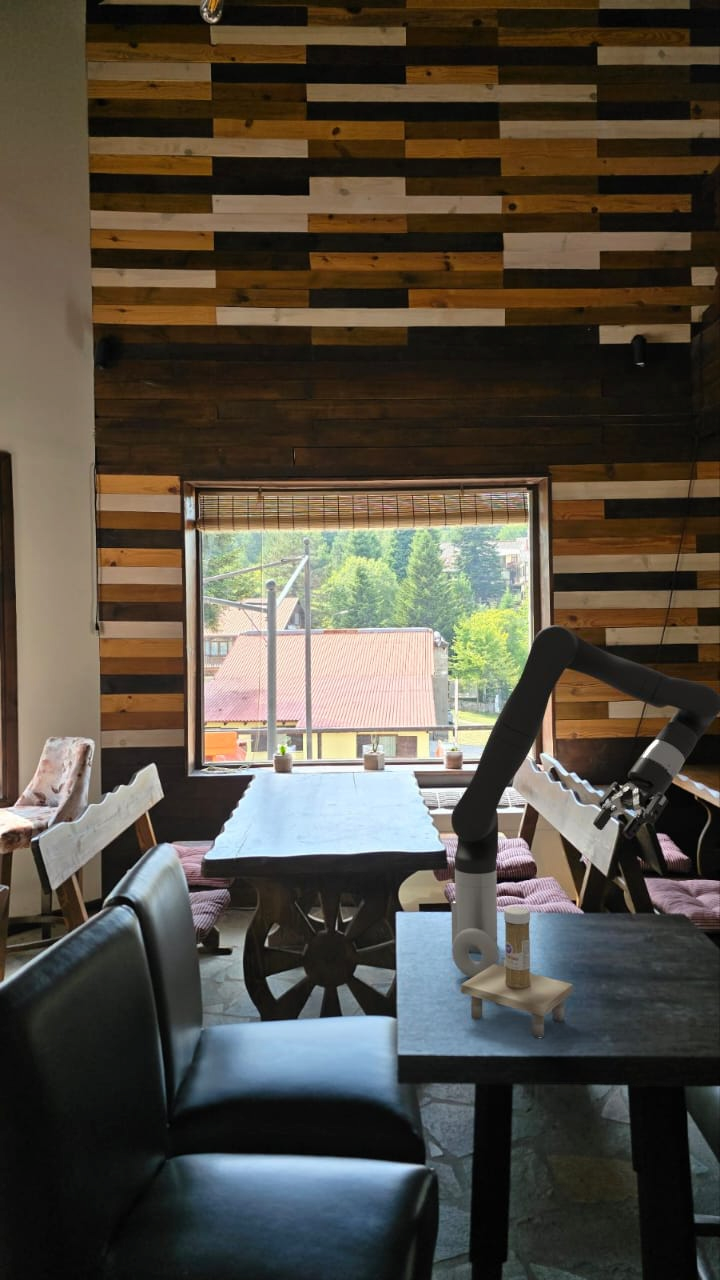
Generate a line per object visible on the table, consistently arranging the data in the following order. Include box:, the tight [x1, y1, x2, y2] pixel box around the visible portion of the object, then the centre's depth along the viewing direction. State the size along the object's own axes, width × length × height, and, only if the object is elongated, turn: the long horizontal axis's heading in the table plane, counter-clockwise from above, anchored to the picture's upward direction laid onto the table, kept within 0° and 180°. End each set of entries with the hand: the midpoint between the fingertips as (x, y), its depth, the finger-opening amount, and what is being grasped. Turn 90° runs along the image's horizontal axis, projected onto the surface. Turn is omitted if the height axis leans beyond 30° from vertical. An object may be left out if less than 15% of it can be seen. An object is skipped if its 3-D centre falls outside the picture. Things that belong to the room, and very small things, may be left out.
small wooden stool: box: [460, 964, 574, 1039], centre depth 149 cm, size 16×12×6 cm
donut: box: [451, 928, 500, 979], centre depth 167 cm, size 10×4×10 cm, turn 57°
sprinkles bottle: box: [503, 906, 531, 989], centre depth 149 cm, size 5×5×14 cm
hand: (611, 831), depth 161 cm, fingers open, 8 cm apart
